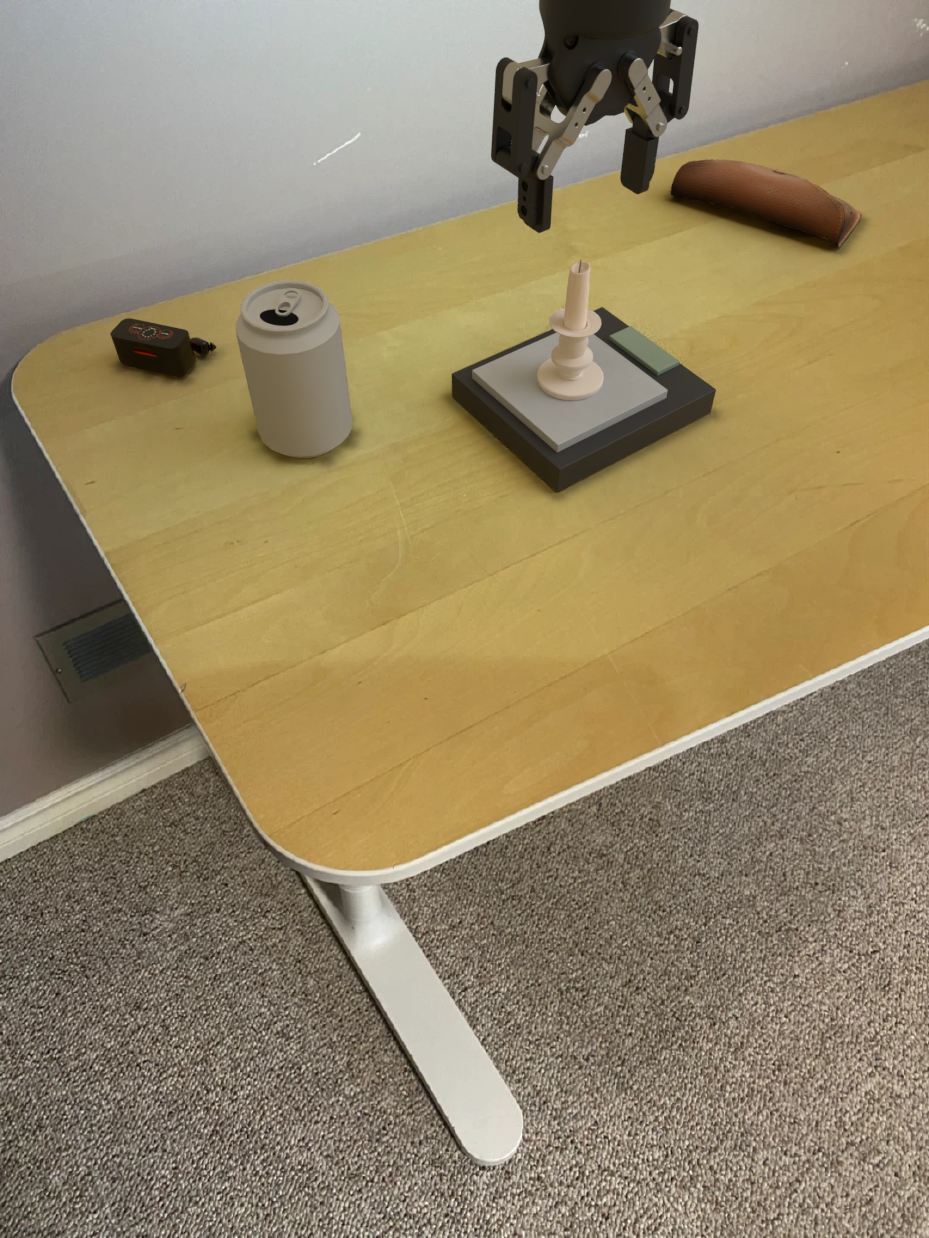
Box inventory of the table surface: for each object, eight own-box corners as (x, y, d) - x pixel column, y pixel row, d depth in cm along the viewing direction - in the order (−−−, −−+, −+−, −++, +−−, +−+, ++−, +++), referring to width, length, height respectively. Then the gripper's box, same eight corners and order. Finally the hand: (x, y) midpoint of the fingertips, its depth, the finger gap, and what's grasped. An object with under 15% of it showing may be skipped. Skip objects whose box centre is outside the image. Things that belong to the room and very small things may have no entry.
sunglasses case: (867, 210, 97) (874, 167, 90) (835, 270, 96) (840, 232, 90) (702, 163, 103) (698, 120, 97) (672, 220, 103) (666, 181, 96)
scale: (599, 330, 85) (603, 298, 83) (711, 413, 78) (718, 381, 76) (451, 397, 80) (450, 365, 77) (557, 493, 72) (559, 461, 70)
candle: (553, 408, 74) (563, 287, 66) (526, 368, 77) (532, 248, 69) (614, 391, 75) (631, 271, 67) (585, 354, 78) (597, 234, 70)
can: (243, 452, 76) (210, 320, 66) (286, 395, 80) (261, 264, 70) (329, 474, 74) (308, 342, 64) (368, 414, 78) (354, 283, 69)
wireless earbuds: (192, 384, 81) (183, 351, 78) (118, 368, 82) (107, 335, 80) (218, 352, 84) (210, 320, 81) (146, 337, 85) (136, 304, 83)
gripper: (551, -31, 48) (536, 267, 60) (755, -88, 53) (702, 198, 65) (464, -71, 51) (467, 217, 64) (662, -120, 56) (629, 156, 69)
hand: (586, 207), depth 65 cm, fingers open, 8 cm apart
